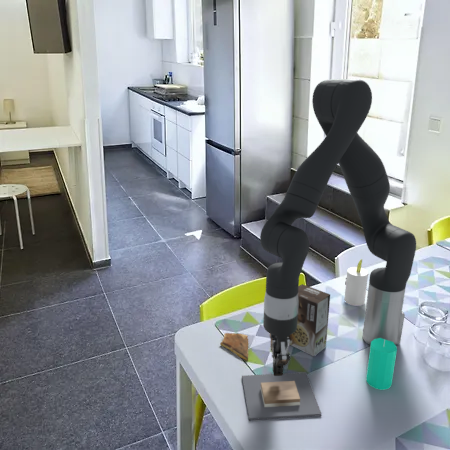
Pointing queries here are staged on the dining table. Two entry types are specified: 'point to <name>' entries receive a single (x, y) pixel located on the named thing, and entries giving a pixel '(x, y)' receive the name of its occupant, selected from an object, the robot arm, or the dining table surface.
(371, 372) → the candle
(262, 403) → the mat
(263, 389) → the slab
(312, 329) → the cookie box
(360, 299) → the candle
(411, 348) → the dining table surface
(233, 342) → the shard
